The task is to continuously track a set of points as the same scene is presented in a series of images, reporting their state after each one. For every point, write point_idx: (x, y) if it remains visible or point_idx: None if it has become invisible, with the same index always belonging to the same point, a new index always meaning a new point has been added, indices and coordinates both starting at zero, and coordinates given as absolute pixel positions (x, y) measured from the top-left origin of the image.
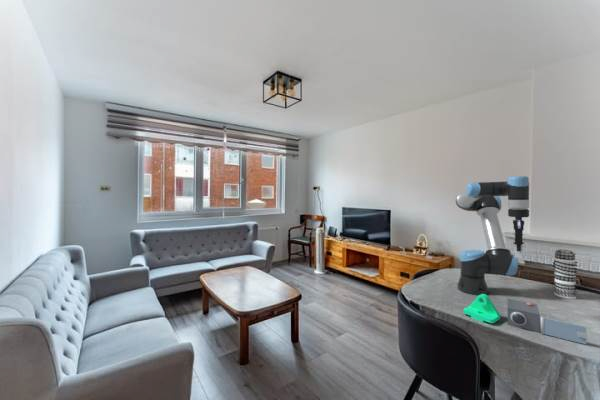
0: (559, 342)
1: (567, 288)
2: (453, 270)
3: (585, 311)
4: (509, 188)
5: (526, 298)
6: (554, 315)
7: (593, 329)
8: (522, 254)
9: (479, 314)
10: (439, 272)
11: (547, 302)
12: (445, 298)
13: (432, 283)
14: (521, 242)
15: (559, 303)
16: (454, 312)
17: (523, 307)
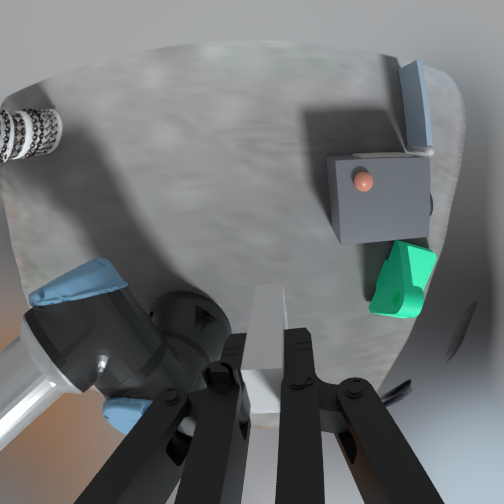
0: None
1: (41, 122)
2: None
3: (134, 68)
4: None
5: (137, 199)
6: (236, 119)
7: (276, 42)
8: (281, 299)
9: (420, 283)
10: None
11: (128, 149)
12: (318, 363)
13: None
14: (372, 396)
15: (114, 124)
16: (401, 326)
17: (400, 197)
